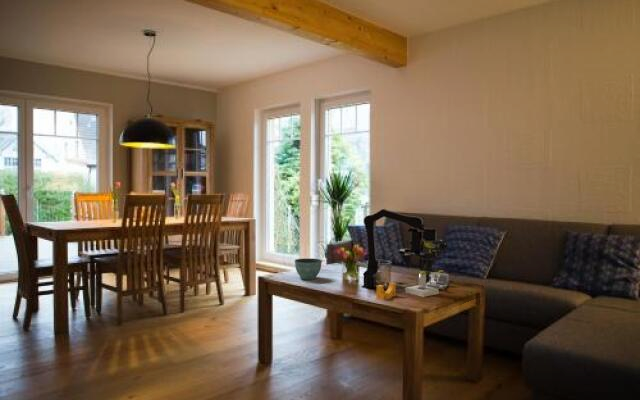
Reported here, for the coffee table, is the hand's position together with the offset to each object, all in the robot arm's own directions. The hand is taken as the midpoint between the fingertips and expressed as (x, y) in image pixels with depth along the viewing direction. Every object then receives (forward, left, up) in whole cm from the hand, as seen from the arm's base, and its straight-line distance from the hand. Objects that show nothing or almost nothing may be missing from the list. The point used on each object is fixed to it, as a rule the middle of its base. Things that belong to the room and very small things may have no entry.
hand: (414, 269), depth 251 cm
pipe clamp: (-22, -2, -12) cm, 25 cm away
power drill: (+31, +13, -12) cm, 36 cm away
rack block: (0, -5, -12) cm, 13 cm away
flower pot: (-28, +58, -12) cm, 65 cm away
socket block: (0, +9, -12) cm, 15 cm away
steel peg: (0, -5, -12) cm, 13 cm away
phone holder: (+17, 0, -12) cm, 21 cm away
